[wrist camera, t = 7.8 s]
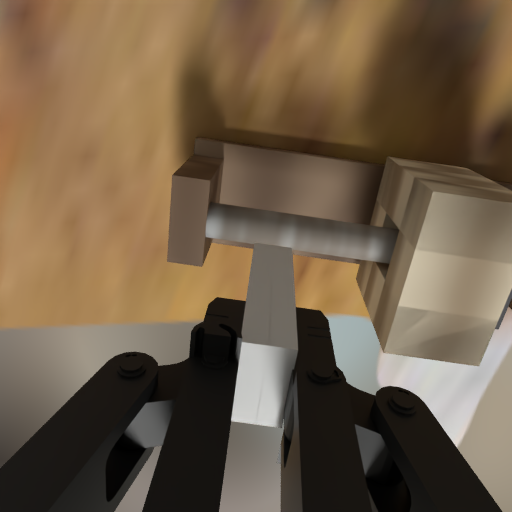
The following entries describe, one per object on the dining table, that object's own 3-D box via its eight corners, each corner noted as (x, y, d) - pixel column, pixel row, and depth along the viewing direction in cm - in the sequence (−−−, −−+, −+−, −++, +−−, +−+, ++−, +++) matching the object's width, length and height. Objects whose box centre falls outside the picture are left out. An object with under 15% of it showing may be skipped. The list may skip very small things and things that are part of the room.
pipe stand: (189, 235, 31) (165, 278, 25) (197, 137, 28) (173, 156, 22) (487, 278, 31) (542, 332, 25) (524, 185, 29) (596, 218, 22)
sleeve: (356, 279, 30) (383, 352, 22) (387, 156, 27) (433, 191, 19) (426, 289, 30) (478, 366, 22) (466, 167, 27) (545, 207, 19)
